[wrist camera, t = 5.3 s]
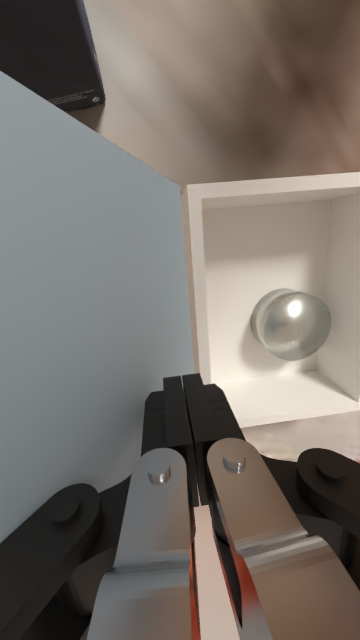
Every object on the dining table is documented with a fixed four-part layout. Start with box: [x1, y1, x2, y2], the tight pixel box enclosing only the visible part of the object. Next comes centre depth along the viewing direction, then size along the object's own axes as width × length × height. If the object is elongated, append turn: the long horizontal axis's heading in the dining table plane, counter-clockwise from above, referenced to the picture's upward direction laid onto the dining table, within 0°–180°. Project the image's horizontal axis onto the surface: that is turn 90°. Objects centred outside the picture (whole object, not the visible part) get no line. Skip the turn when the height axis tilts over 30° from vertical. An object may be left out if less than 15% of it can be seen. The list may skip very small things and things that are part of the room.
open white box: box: [181, 172, 360, 428], centre depth 20 cm, size 14×18×6 cm
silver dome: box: [250, 288, 331, 361], centre depth 22 cm, size 6×6×3 cm
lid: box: [0, 71, 194, 543], centre depth 10 cm, size 13×18×1 cm
